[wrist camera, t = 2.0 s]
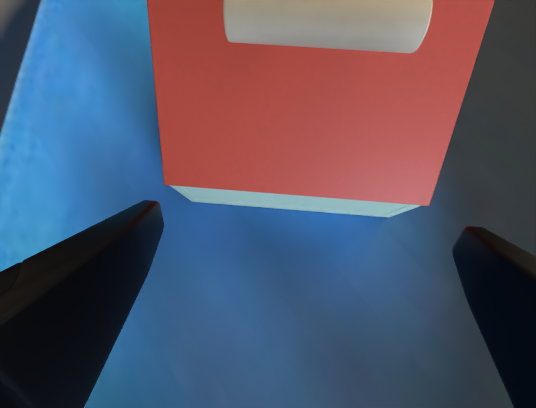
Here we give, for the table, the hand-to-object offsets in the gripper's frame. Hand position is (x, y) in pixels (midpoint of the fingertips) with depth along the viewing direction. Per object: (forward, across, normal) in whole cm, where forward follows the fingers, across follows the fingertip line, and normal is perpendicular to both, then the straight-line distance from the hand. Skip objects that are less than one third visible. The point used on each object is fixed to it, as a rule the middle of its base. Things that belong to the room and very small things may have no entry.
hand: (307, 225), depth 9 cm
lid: (+9, 0, -3) cm, 10 cm away
